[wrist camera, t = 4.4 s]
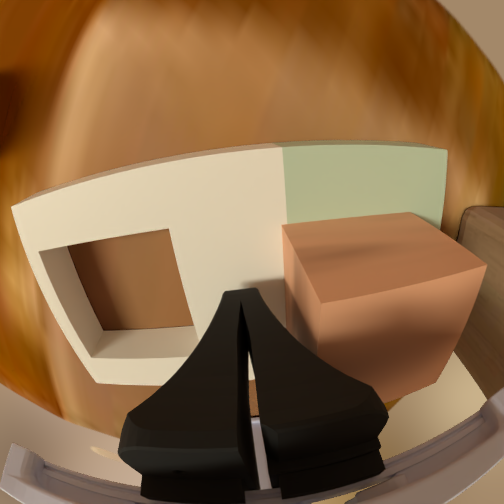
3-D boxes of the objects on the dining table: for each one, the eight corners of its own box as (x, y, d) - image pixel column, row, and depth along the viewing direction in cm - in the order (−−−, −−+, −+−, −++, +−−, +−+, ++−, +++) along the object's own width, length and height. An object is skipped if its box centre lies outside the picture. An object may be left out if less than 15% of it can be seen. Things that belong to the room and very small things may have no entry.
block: (391, 316, 13) (435, 382, 9) (286, 338, 13) (308, 424, 9) (410, 211, 11) (487, 264, 6) (281, 224, 10) (320, 303, 6)
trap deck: (392, 321, 17) (409, 344, 15) (106, 356, 16) (96, 382, 14) (417, 143, 12) (447, 150, 9) (38, 192, 11) (10, 206, 9)
